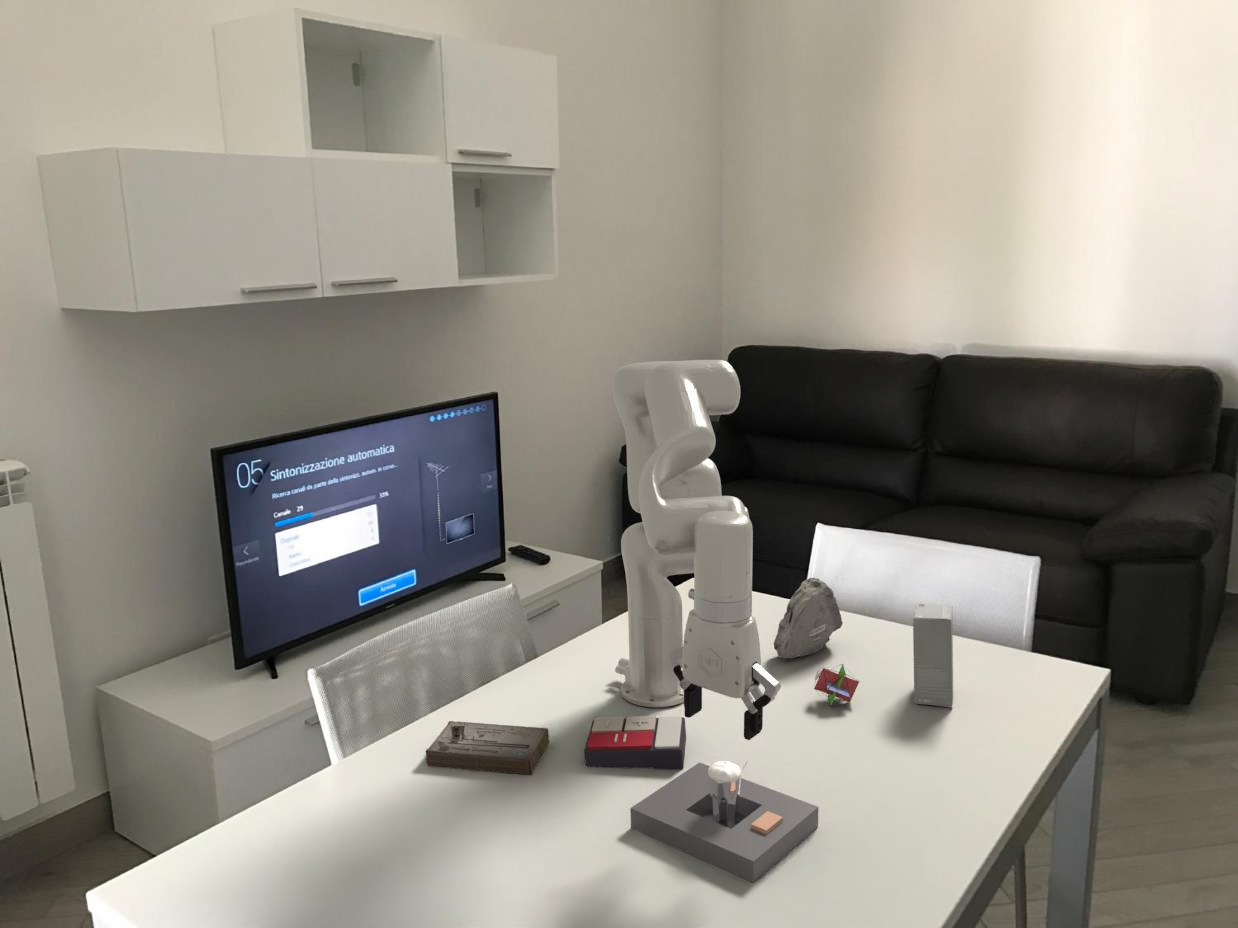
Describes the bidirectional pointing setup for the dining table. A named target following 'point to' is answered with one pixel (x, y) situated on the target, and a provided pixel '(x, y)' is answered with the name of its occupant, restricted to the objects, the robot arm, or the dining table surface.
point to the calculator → (636, 742)
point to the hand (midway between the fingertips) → (722, 724)
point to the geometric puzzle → (835, 684)
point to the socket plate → (743, 850)
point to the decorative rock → (808, 620)
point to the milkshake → (725, 792)
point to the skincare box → (933, 654)
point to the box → (488, 747)
